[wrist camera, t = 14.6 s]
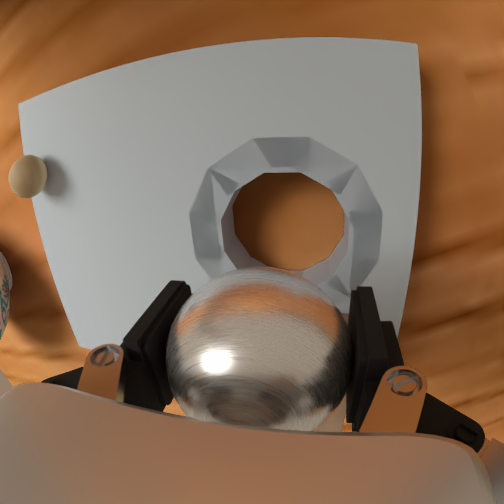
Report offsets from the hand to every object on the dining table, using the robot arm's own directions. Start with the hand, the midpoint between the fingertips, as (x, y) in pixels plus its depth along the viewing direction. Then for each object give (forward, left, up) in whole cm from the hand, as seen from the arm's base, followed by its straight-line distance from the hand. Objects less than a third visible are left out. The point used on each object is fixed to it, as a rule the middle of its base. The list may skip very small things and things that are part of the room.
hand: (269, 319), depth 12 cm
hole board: (-6, 0, -11) cm, 13 cm away
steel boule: (0, 0, +2) cm, 2 cm away
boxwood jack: (-18, +6, -7) cm, 20 cm away
